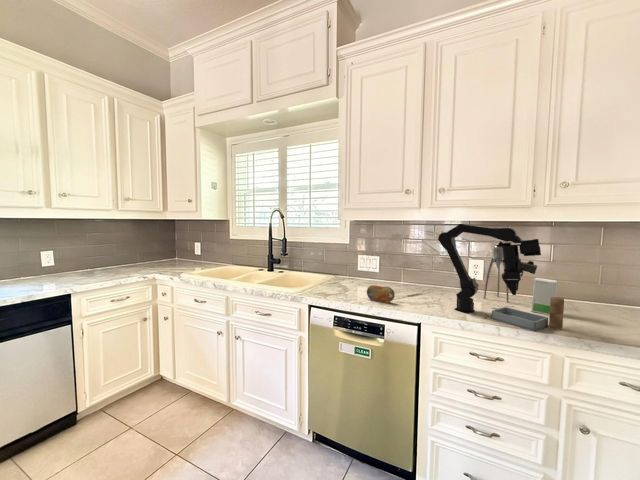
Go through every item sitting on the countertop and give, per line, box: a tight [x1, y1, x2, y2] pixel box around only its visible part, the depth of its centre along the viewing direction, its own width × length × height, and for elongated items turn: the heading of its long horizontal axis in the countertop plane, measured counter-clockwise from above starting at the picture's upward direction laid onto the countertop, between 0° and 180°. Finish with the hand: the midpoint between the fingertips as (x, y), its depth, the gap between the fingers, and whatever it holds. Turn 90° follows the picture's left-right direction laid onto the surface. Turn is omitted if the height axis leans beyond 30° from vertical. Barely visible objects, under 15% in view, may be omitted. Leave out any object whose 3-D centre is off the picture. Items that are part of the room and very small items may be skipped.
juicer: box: [483, 244, 509, 303], centre depth 147 cm, size 10×11×30 cm
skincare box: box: [531, 277, 558, 316], centre depth 128 cm, size 8×7×16 cm
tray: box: [490, 306, 549, 332], centre depth 116 cm, size 16×11×4 cm
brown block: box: [548, 296, 565, 331], centre depth 109 cm, size 4×4×12 cm
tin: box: [366, 284, 396, 304], centre depth 146 cm, size 15×3×8 cm, turn 54°
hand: (515, 292), depth 118 cm, fingers open, 9 cm apart
